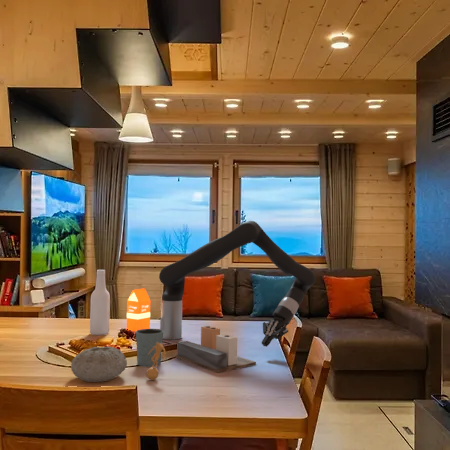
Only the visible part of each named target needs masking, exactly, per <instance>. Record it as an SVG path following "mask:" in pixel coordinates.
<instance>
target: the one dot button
mask: <svg viewBox="0 0 450 450" xmlns="http://www.w3.org/2000/svg"><path fill="white" fill-rule="evenodd" d="M216 350H218V351H221V352H225V353H227V365H228V366H229V365H234V364H237V356H238V337H237V336H233V335H229V334H227V333H224V334H220V335H216Z"/></svg>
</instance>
